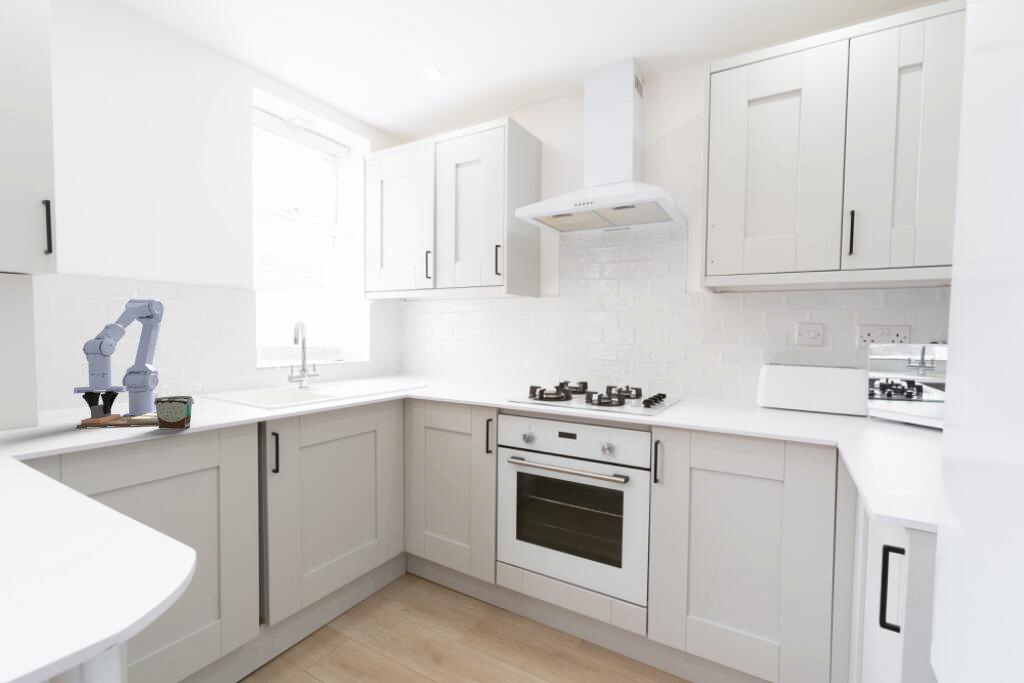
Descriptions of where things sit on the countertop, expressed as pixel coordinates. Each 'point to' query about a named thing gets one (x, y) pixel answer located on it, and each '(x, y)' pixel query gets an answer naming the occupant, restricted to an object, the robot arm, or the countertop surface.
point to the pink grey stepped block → (99, 415)
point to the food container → (174, 411)
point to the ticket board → (126, 421)
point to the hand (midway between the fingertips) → (101, 413)
